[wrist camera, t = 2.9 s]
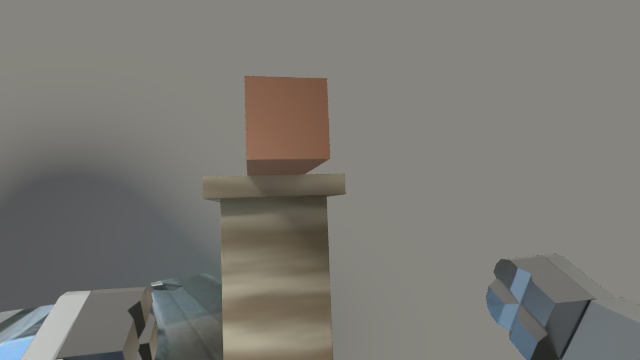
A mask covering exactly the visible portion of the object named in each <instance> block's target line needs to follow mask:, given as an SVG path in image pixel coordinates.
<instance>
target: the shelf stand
mask: <svg viewBox="0 0 640 360" xmlns="http://www.w3.org/2000/svg"><path fill="white" fill-rule="evenodd" d="M342 194H346V192H345V174H302V175H256V176H210V177H203V199H207V200H212V201H217V202H220V204H221V252H222V254H221V256H222V309H223V360H333V347H332V324H331V298H330V274H329V273H330V272H329V246H328V223H327V197H329V196H335V195H342Z"/></svg>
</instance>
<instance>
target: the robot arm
mask: <svg viewBox="0 0 640 360" xmlns="http://www.w3.org/2000/svg"><path fill="white" fill-rule="evenodd" d="M494 274H495V276H496V279H495V280H494V282H492V283H491V285H489V287H488V291H487V295H486V301H487V307H488V310H489V312H490V314H491V316H492V317H493V319H494V320H495V321H496V323H497V324H498V325H500V326H502V327H503V328H505V329H507V330H508V331H509V336H510V340H511V342H512V343H513V344H514V345H515V347H516V348H517V349H518V350H519V352H520V353H521V354H522V355H523V357H524V358H525V359H526V360H640V305H639V304H637V303H634V302H632V301H630V300H627V299H625V298H622V297H619V298H616V297H615V296H613V295H612V294H611V293H609V292H608V291H607V290H605V289H604V288H603V287H602V286H600V285H599V284H598V283H597V282H595V281H594V280H593V279H592V278H590V277H589V276H588V275H586V274H585V273H584V272H582V271H581V270H580V269H579V268H577V267H576V266H575V265H573V264H572V263H571V262H570V261H569V260H567V259H566V258H565V257H563V256H561V255H558V254H546V255H537V256H529V257H517V258H507V259H501V260H500V261H499V262H498V263H497V264H496V266H495V269H494ZM152 303H153V300H152V295H151V291H150V289H149V288H148V287H138V288H121V289H104V290H94V291H76V292H66V293H65V294H63V295H62V296H61V297H60V298H59V299H58V301H57V302H56V304H55V305H54V307H53V308H52V310H51V312H50V313H49V315H48V316H47V318H46V319H45V321H44V323H43V324H42V326H41V327H40V329H39V331H38V332H37V334H36V335H35V337H34V338H33V340H32V342H31V343H30V345H29V346H28V348H27V349H26V351H25V353H24V354H23V356H22V357H21V359H20V360H155V356H156V350H157V340H158V331H157V322H156V317H154V316H153V315H152V314H150V310H151V306H152Z"/></svg>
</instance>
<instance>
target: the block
mask: <svg viewBox="0 0 640 360" xmlns="http://www.w3.org/2000/svg"><path fill="white" fill-rule="evenodd" d="M327 95H328V94H327V79H326V78H294V77H261V76H245V113H246V114H245V117H246V156H247V176H256V175H302V174H306V173H307V172H309V171H311V170H312V169H314V168H316V167H317V166H319V165H320V164H322V163H324V162H325V161H327V160H328V159H330V144H329V119H328V96H327Z"/></svg>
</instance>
